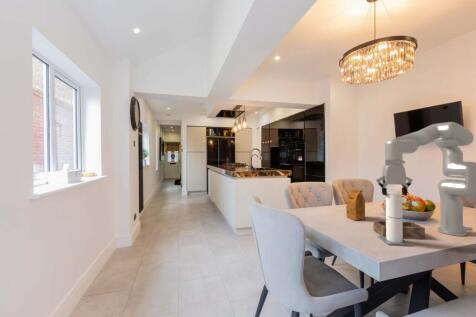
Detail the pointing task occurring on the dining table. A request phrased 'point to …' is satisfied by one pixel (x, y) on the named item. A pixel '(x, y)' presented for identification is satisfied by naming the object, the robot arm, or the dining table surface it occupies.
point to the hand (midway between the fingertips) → (394, 195)
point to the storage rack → (408, 229)
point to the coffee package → (355, 205)
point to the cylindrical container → (394, 217)
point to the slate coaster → (394, 242)
